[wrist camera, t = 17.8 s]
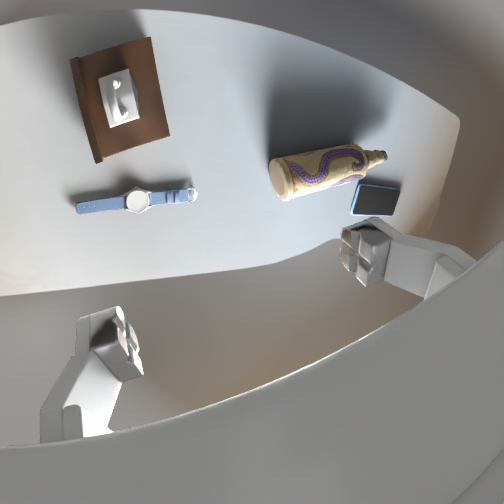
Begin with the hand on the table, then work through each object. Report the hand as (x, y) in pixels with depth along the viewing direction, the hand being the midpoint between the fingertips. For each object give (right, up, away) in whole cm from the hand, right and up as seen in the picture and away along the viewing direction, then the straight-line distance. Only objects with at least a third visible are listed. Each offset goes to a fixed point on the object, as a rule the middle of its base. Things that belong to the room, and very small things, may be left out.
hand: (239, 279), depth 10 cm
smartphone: (+29, +13, +53) cm, 62 cm away
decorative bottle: (+14, +17, +44) cm, 49 cm away
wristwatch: (-18, +9, +33) cm, 39 cm away
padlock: (-16, +20, +20) cm, 32 cm away
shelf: (-18, +23, +24) cm, 38 cm away
